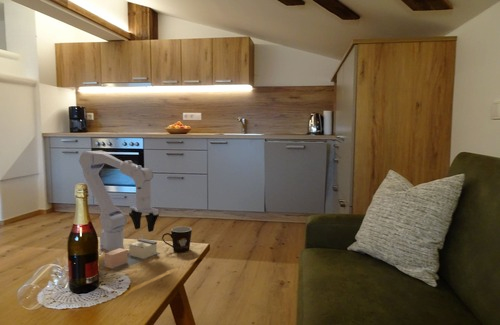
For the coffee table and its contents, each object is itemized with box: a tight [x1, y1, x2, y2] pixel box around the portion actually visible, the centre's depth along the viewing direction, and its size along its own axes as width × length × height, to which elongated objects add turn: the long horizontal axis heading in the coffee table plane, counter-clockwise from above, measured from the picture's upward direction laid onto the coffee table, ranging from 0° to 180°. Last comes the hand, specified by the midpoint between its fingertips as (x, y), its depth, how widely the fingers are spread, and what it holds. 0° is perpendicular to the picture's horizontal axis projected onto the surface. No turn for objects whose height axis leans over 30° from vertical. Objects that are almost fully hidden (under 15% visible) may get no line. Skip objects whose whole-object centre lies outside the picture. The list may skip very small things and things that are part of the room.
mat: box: [98, 251, 161, 272], centre depth 138 cm, size 11×22×1 cm, turn 150°
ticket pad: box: [128, 237, 158, 260], centre depth 143 cm, size 9×7×5 cm
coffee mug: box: [161, 226, 193, 254], centre depth 149 cm, size 12×9×10 cm
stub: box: [104, 248, 128, 270], centre depth 132 cm, size 4×7×5 cm, turn 150°
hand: (144, 230), depth 145 cm, fingers open, 7 cm apart
